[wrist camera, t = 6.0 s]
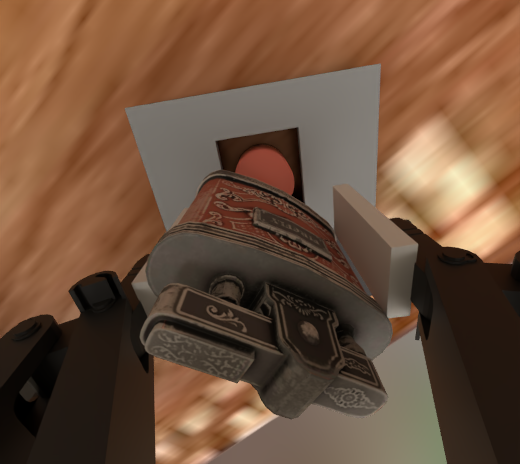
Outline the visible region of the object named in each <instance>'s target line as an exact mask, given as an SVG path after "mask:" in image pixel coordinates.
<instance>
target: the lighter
mask: <svg viewBox="0 0 520 464" xmlns="http://www.w3.org/2000/svg"><path fill="white" fill-rule="evenodd" d="M336 240H337V239H336V235H335V232H334V230H333V229H332V227H331V226H330V224H329V223H328V222H327V221H326V220H325V219H324V218H322V217H321V216H320V215H319V214H317V213H316V212H315V211H314V210H312V209H311V208H310V207H309V206H307V205H306V204H304V203H302V202H301V201H299V200H298V199H296V198H294V197H293V196H291V195H289V194H288V193H286V192H284V191H283V190H280V189H278V188H276V187H273V186H271V185H269V184H266V183H264V182H262V181H259V180H257V179H254V178H251V177H247V176H244V175H241V174H237V173H234V172H230V171H227V170H217V171H214V172H211V173H210V174H209V175H207V176H206V177H205V178H204V179H203V181H202V182H201V184H200V185H199V187H198V188H197V192H196V196H195V199H194V201H193V202H192V204H191V205H190V207H189V208H188V210H187V211H186V213H185V214H184V216H183V217H182V219H181V220H180V222H179V223H178V225H175V226H174V227H172V228H171V229H170V230H168V231H167V232H166V233H164V235H163V236H162V237H161V239H160V240H159V241H158V243H157V244H156V246H155V247H154V249H153V250H152V252H151V253H150V255H149V257H148V259H147V265H146V270H145V272H146V277H147V282H148V285H149V287H150V288H151V290H152V291H153V293H154V295H155V296H157V297H158V298H157V300H156V301H155V303H154V305H153V307H152V309H151V311H150V313H149V315H148V317H147V319H146V321H145V323H144V325H143V327H142V329H141V333H140V340H141V342H142V344H143V345H144V346H145V350H146V351H147V352H148V353H149V354H151V355H153V356H155V357H158V358H161V359H164V360H167V361H170V362H173V363H176V364H180V365H183V366H186V367H189V368H192V369H195V370H198V371H201V372H204V373H207V374H210V375H213V376H216V377H219V378H222V379H226V380H229V381H232V382H235V383H238V382H239V380H241V381H244V382H247V383H250V384H251V385H252V386H253V387H254V388H255V389H256V390H257V391H258V394H259V396H260V398H261V401H262V402H263V403H264V405H265V406H266V407H267V408H268V409H269V410H270V411H271V412H272V413H274V414H276V415H279V416H282V417H285V418H289V419H293V418H296V417H299V416H300V415H301V414H302V412H304V411H305V409H306V408H307V407H308V406H309V405H310V404H314V405H317V406H320V407H323V408H326V409H329V410H333V411H335V412H339V413H341V414H344V415H348V416H351V417H355V418H365V417H368V416H371V415H372V414H374V413H375V412H377V411H378V410H379V409H381V408H382V407H383V406H384V405H385V403H386V402H387V400H388V396H387V393H386V391H385V389H384V387H383V385H382V382H381V380H380V378H379V376H378V373H377V372H376V369H375V367H374V365H373V363H372V360H373V359H375V358H376V357H377V356H378V355H380V354H381V353H382V352H383V351H384V350H385V348H386V347H387V346H388V344H389V343H390V340H391V337H392V334H393V332H392V325H391V323H390V321H389V319H388V318H387V316H386V314H385V313H384V311H383V310H382V308H381V307H380V305H379V304H378V303H377V302H376V301H375V300H374V299H373V298H371V297H370V296H369V295H367V294H366V292H365V291H364V289H363V287H362V285H361V284H360V282H359V280H358V279H357V277H356V275H355V273H354V272H353V270H352V268H351V267H350V265H349V263H348V261H347V260H346V258H345V256H344V255H343V253H342V251H341V249H340V248H339V246H338V244H337V243H336Z"/></svg>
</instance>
